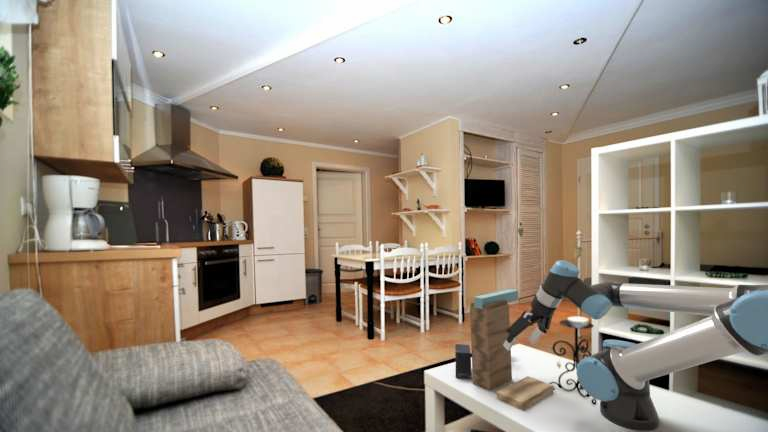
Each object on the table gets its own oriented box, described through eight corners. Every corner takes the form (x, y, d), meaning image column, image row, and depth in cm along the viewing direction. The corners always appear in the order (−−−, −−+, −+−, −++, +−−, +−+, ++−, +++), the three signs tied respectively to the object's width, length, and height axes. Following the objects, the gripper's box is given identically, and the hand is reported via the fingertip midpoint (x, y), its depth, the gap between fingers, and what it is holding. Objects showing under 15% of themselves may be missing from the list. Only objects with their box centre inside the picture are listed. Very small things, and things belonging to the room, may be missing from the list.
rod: (518, 300, 145) (518, 290, 145) (482, 309, 130) (482, 298, 131) (510, 298, 148) (509, 289, 148) (474, 307, 134) (473, 297, 134)
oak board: (553, 392, 126) (552, 385, 126) (522, 410, 114) (522, 402, 114) (527, 382, 134) (527, 376, 134) (496, 398, 122) (496, 391, 122)
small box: (472, 379, 138) (471, 352, 139) (455, 378, 140) (454, 352, 140) (470, 368, 149) (469, 344, 149) (455, 367, 150) (454, 343, 151)
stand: (511, 380, 136) (508, 300, 137) (490, 391, 128) (486, 306, 129) (494, 374, 142) (491, 297, 144) (472, 383, 134) (469, 302, 135)
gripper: (560, 291, 126) (533, 333, 135) (513, 296, 114) (487, 341, 123) (577, 305, 120) (548, 348, 129) (529, 312, 108) (501, 358, 117)
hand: (519, 345), depth 126 cm, fingers open, 13 cm apart
